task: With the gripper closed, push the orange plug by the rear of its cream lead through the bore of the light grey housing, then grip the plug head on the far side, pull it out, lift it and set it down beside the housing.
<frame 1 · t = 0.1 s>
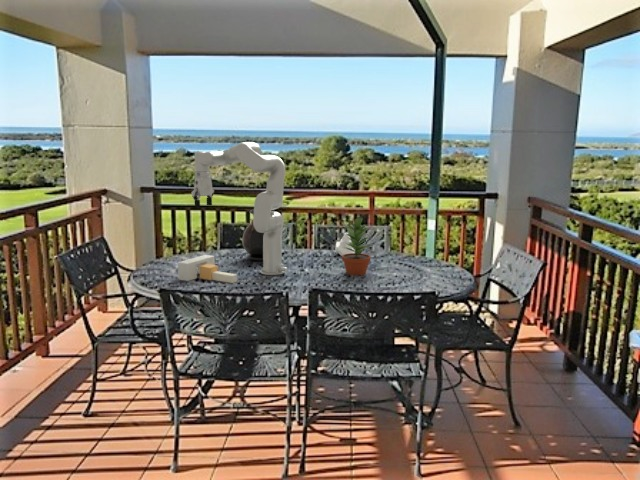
hand: (203, 206, 294), 31 cm above the table, tool pointing down, fingers open, 9 cm apart
plug: (218, 279, 264), on the table
housing: (197, 275, 270), on the table
amphora vase: (261, 259, 309), on the table
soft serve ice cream: (344, 254, 324), on the table
potted plant: (355, 273, 280), on the table
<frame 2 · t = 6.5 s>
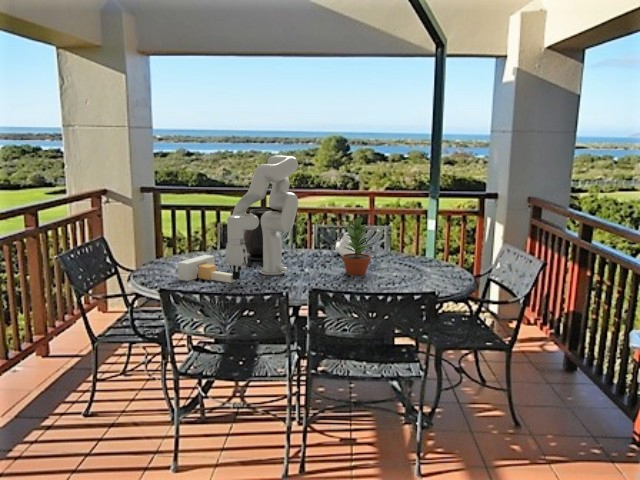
hand: (236, 279, 258), 2 cm above the table, tool pointing down, fingers closed
plug: (216, 279, 264), on the table, touching gripper
everything else where it was.
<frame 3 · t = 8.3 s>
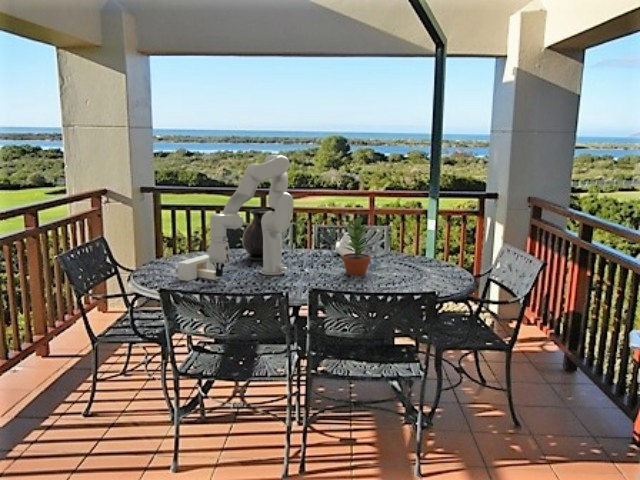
hand: (219, 276, 263), 2 cm above the table, tool pointing down, fingers closed
plug: (201, 276, 269), on the table, touching gripper
everything else where it was.
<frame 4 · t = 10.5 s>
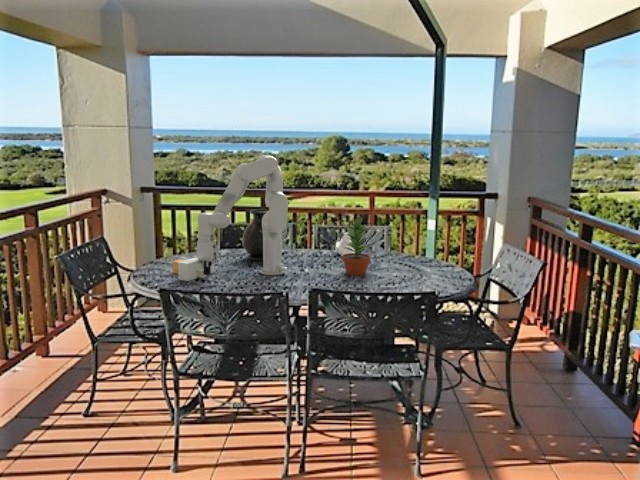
hand: (207, 274, 267), 2 cm above the table, tool pointing down, fingers closed
plug: (189, 274, 273), on the table, touching gripper
everything else where it was.
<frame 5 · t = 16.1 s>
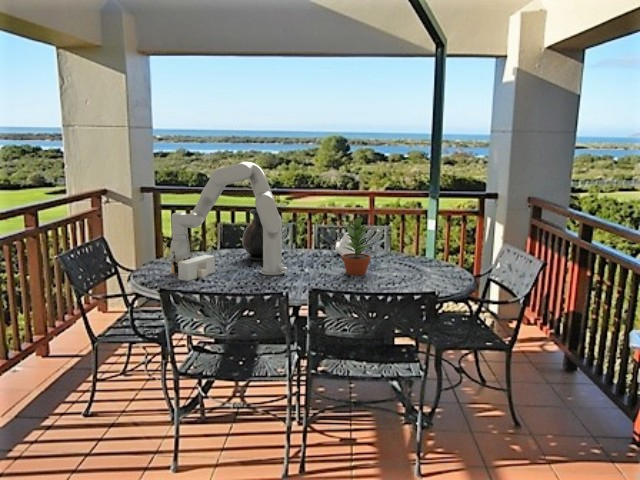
hand: (181, 271, 275), 1 cm above the table, tool pointing down, fingers closed on plug, 5 cm apart
plug: (189, 274, 273), on the table, touching gripper
everything else where it was.
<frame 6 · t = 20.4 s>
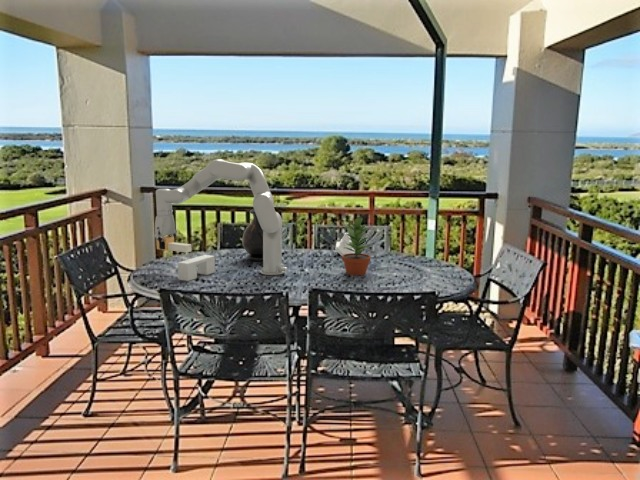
hand: (166, 247, 278), 12 cm above the table, tool pointing down, fingers closed on plug, 5 cm apart
plug: (174, 249, 275), point 11 cm above the table, touching gripper
everything else where it was.
when the fingers open (2 cm above the table, at t = 24.4 s): plug drops 1 cm, on the table.
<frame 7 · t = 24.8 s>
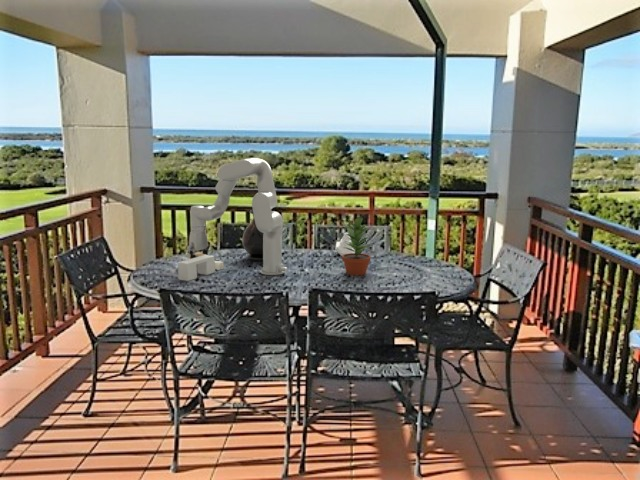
hand: (199, 260, 291), 3 cm above the table, tool pointing down, fingers open, 9 cm apart
plug: (206, 266, 289), on the table
everything else where it was.
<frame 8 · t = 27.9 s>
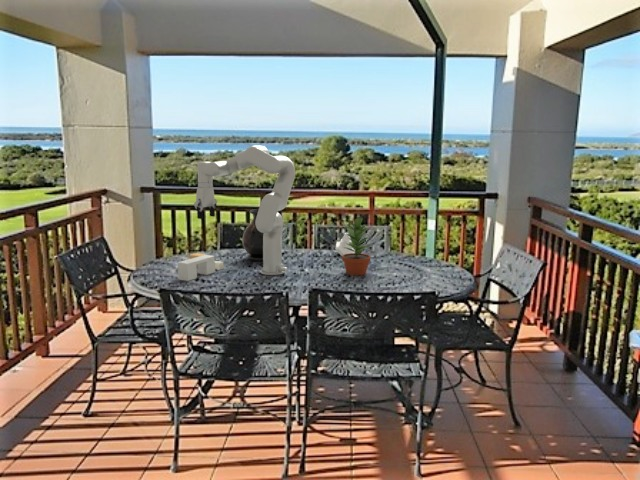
hand: (206, 217, 286), 26 cm above the table, tool pointing down, fingers open, 9 cm apart
nothing on the table moved.
at the end: plug inside the target area (0.4 cm from its centre), on the table; plug touching table; the gripper is holding nothing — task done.
